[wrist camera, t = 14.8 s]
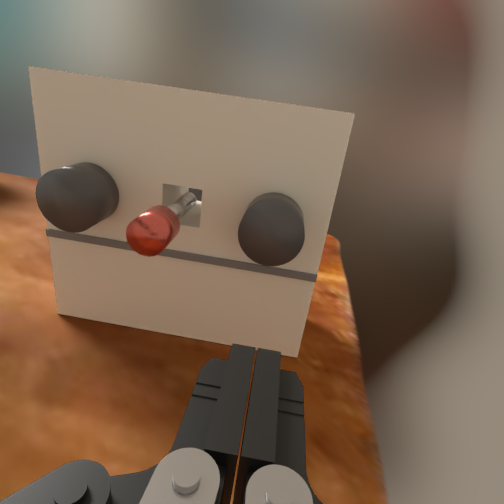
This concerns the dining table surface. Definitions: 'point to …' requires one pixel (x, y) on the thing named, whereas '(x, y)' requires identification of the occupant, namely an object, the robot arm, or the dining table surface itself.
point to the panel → (199, 216)
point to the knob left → (77, 196)
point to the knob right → (272, 229)
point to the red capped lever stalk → (158, 226)
